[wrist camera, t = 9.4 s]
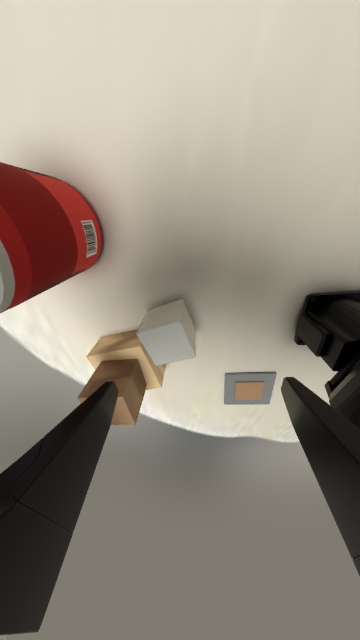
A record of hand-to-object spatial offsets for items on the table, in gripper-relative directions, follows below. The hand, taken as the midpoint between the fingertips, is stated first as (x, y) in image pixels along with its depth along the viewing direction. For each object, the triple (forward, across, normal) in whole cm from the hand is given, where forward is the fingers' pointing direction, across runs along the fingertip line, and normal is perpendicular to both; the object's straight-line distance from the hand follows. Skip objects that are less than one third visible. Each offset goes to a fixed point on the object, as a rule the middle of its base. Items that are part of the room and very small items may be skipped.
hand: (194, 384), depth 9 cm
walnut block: (+8, +9, +8) cm, 15 cm away
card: (+12, -7, +16) cm, 21 cm away
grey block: (+12, +3, +3) cm, 13 cm away
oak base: (+12, +9, +8) cm, 17 cm away
